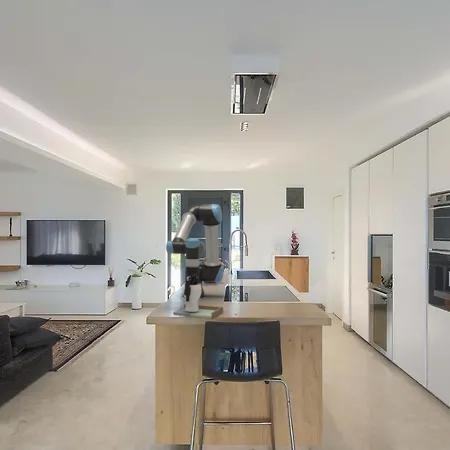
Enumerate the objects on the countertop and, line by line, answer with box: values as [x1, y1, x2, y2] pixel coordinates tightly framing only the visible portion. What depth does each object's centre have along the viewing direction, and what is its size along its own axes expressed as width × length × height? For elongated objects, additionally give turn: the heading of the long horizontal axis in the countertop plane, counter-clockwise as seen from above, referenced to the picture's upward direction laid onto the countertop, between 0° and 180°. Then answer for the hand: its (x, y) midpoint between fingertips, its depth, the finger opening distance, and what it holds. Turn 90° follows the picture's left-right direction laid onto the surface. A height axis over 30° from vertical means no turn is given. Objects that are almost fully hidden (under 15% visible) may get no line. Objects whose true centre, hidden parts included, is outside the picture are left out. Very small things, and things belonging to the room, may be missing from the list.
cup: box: [182, 283, 202, 312], centre depth 243 cm, size 11×11×15 cm
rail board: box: [172, 303, 224, 319], centre depth 244 cm, size 16×24×3 cm, turn 72°
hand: (192, 305), depth 243 cm, fingers closed on cup, 11 cm apart
